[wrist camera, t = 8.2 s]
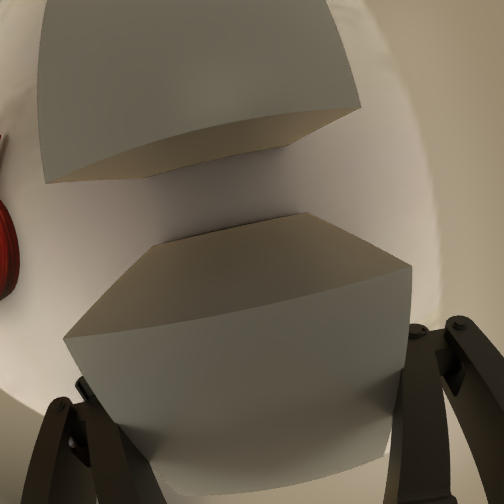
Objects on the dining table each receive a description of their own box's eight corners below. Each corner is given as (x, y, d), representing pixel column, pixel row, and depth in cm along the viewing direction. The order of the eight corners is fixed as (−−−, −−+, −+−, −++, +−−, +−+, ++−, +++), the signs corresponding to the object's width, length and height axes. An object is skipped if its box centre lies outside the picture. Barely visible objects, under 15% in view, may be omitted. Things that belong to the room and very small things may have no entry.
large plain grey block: (152, 246, 15) (62, 338, 6) (306, 212, 15) (412, 266, 6) (195, 369, 18) (180, 495, 8) (322, 342, 18) (383, 456, 8)
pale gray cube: (124, 56, 13) (51, -20, 4) (257, 25, 13) (282, -79, 4) (143, 178, 16) (45, 183, 6) (287, 145, 16) (361, 107, 6)
